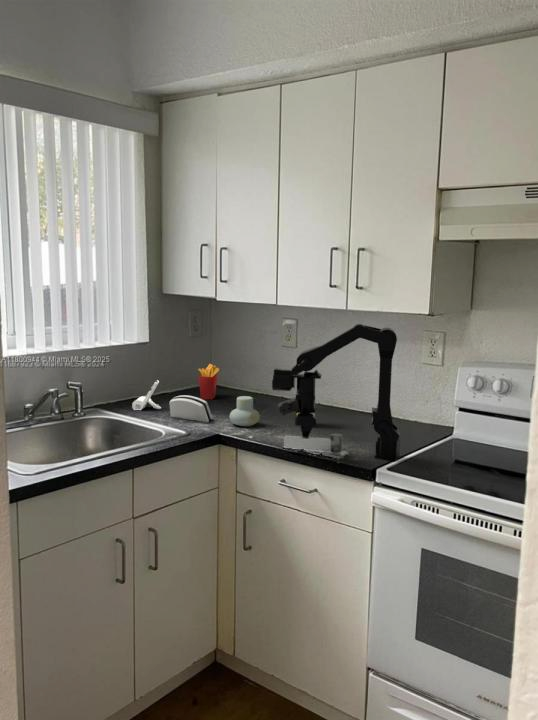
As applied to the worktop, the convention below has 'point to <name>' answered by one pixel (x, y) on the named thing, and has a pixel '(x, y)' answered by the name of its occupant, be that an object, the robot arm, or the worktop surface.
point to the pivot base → (335, 454)
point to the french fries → (208, 382)
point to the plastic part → (146, 400)
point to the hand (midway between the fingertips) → (305, 440)
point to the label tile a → (315, 451)
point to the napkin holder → (190, 408)
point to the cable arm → (314, 443)
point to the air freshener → (244, 412)
